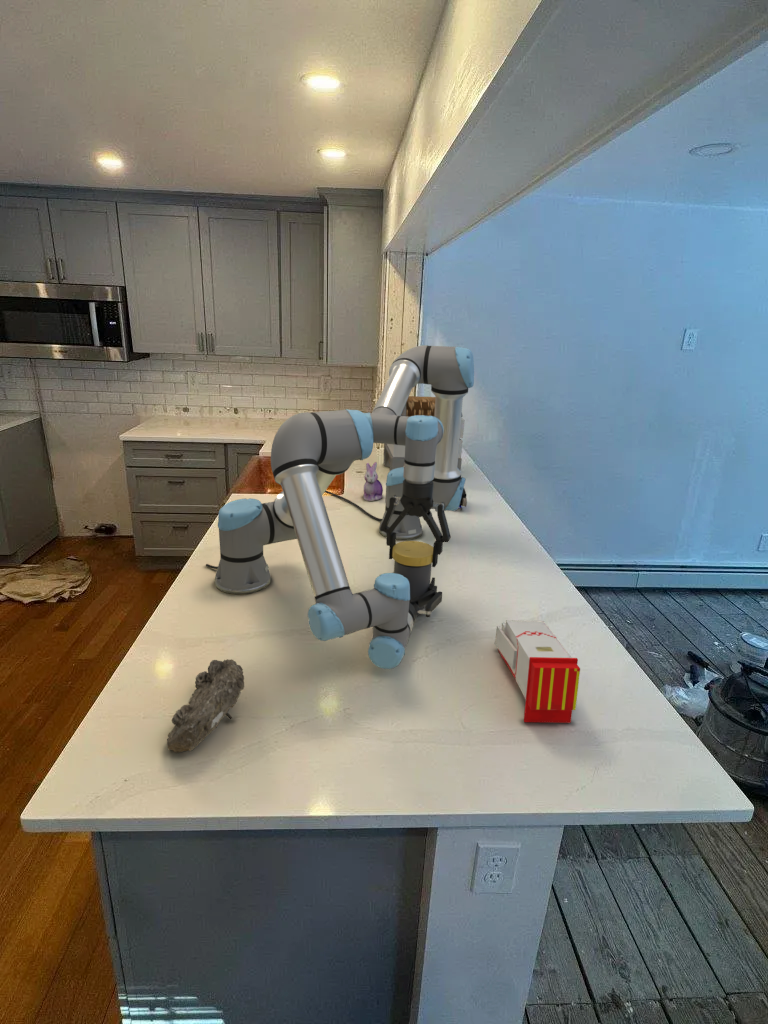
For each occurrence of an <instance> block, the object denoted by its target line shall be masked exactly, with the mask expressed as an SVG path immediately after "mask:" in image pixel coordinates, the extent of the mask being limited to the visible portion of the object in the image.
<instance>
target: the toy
mask: <svg viewBox="0 0 768 1024" xmlns="http://www.w3.org/2000/svg"><path fill="white" fill-rule="evenodd" d="M494 645H495V647H496V648H497V651H498V653H499V654H500V656H501V658H502V660H503V661H504V663H505V665H506V666H507V668H508V670H509V671H510V673H511V675H512V676H513V678H514V679H515V682H516V684H517V686H518V688H519V690H520V692H521V693H522V695H523V697H524V699H525V701H524V703H525V705H524V712H523V713H524V714H523V722H524V723H550V724H551V723H552V724H553V723H554V724H556V723H557V724H558V723H559V724H561V723H562V724H571V723H572V717H573V716H572V715H573V711H576V708H577V699H578V692H579V682H580V674H581V667H580V666H579V664H578V663H579V662H578V661H579V659H578V658H577V657H572V656H571V655H570V653H569V652H568V651H567V649H566V648H565V647H564V645H563V644H562V643H561V641H560V639H558V637H556V635H555V634H554V632H553V631H552V630H551V628H550V626H549V625H547V623H546V622H545V621H544V620H517V619H516V620H513V619H512V620H511V619H510V620H509V619H506V620H505V622H501V627H500V626H499V625H497V626H496V628H495V637H494Z"/></svg>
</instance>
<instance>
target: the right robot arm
mask: <svg viewBox="0 0 768 1024" xmlns="http://www.w3.org/2000/svg"><path fill="white" fill-rule="evenodd" d="M388 369H389V370H388V378H387V381H386V383H385V385H384V387H383V389H382V391H381V393H380V395H379V397H378V399H377V401H376V403H375V405H374V407H373V410H372V412H363V413H364V414H365V416H366V417H367V419H368V420H369V423H370V425H371V429H372V433H373V444H383V445H384V444H394V445H403V446H405V460H404V467H401V468H396V469H393V470H391V471H390V470H389V472H388V473H387V475H386V482H385V504H384V505H385V507H384V508H385V509H384V513H383V515H382V518H379V517H376V516H375V515H372V514H371V513H369V512H367V511H366V510H365V509H364V508H362V507H361V506H360V505H358V504H356V503H355V502H353V501H351V500H349V499H348V498H346V497H343V496H341V495H339V494H337V493H336V494H335V493H334V492H331V491H329V490H326V491H325V492H324V494H325V493H326V494H329V495H331V496H333V497H336V498H339V499H341V500H343V501H345V502H347V503H349V504H351V505H352V506H354V507H356V508H357V509H359V510H360V511H361V512H362V513H364V514H365V515H367V516H368V517H370V518H372V519H373V520H376V521H378V522H379V526H378V533H379V534H380V535H381V536H382V537H385V538H386V540H385V541H386V542H385V544H386V546H389V551H388V560H393V557H392V550H393V546H394V545H395V544H397V541H412V540H415V539H418V538H420V537H421V536H422V535H423V525H422V524H421V518H423V520H424V521H425V523H426V524H427V527H428V528H429V530H430V532H431V534H432V535H433V538H434V539H435V540H434V542H433V560H432V567H431V568H436V566H437V565H438V561H439V556H440V555H442V553H443V547H444V543H449V542H450V540H451V538H452V536H451V531H450V528H449V527H450V526H449V523H448V521H447V515H446V513H445V511H448V512H449V511H451V512H455V511H457V510H458V509H460V507H459V505H460V501H461V497H462V493H463V488H464V489H465V484H466V478H465V477H463V476H462V470H461V471H460V470H459V469H458V468H457V465H458V452H459V439H461V438H460V426H461V418H462V417H461V414H462V415H463V400H464V397H465V396H466V395H467V394H469V389H471V388H473V387H474V383H475V361H474V354H473V352H472V350H471V349H469V348H467V347H460V346H449V345H447V346H445V345H428V344H424V345H423V344H422V345H417V346H413V347H411V348H409V349H407V350H405V351H404V352H402V353H401V354H399V356H397V357H396V358H395V359H394V360H393V361H392V363H391V364H390V367H389V368H388ZM418 384H419V385H421V384H422V385H430V392H431V393H432V394H433V395H434V397H436V398H435V415H434V416H424V415H415V416H411V417H407V416H401V413H402V411H403V409H404V406H405V404H406V402H407V399H408V397H409V396H411V392H412V390H413V388H415V387H416V386H417V385H418ZM431 509H432V510H434V512H436V515H437V519H438V523H439V525H438V524H437V523H436V521H435V518H434V517H433V514H432V511H431ZM439 527H440V528H439Z"/></svg>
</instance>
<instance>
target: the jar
mask: <svg viewBox="0 0 768 1024" xmlns="http://www.w3.org/2000/svg"><path fill="white" fill-rule="evenodd" d="M393 560H394V559H393ZM432 568H433V567H432V563H431V564H429V565H425V566H407V565H403V564H400V563H398V562H396V561H395V560H394V561H393V573H397V574H400V575H403V576H404V577H405V578H407V579H408V581H409V583H410V599H412V598H414V597H419V596H421V595H423V594H424V593H426V592H428V591H429V586H430V583H431V580H432ZM426 605H427V604H426ZM423 607H424V606H422V607H421V608H423ZM421 615H422V614H419V615H418V616H421Z"/></svg>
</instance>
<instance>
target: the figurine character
mask: <svg viewBox="0 0 768 1024" xmlns="http://www.w3.org/2000/svg"><path fill="white" fill-rule="evenodd" d="M467 503H468V498H467V492H466V489H465V487H464V488H463V493H462V497H461V501H460V505H459V509H460V511H463V507H464V508H465V507H467Z"/></svg>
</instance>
